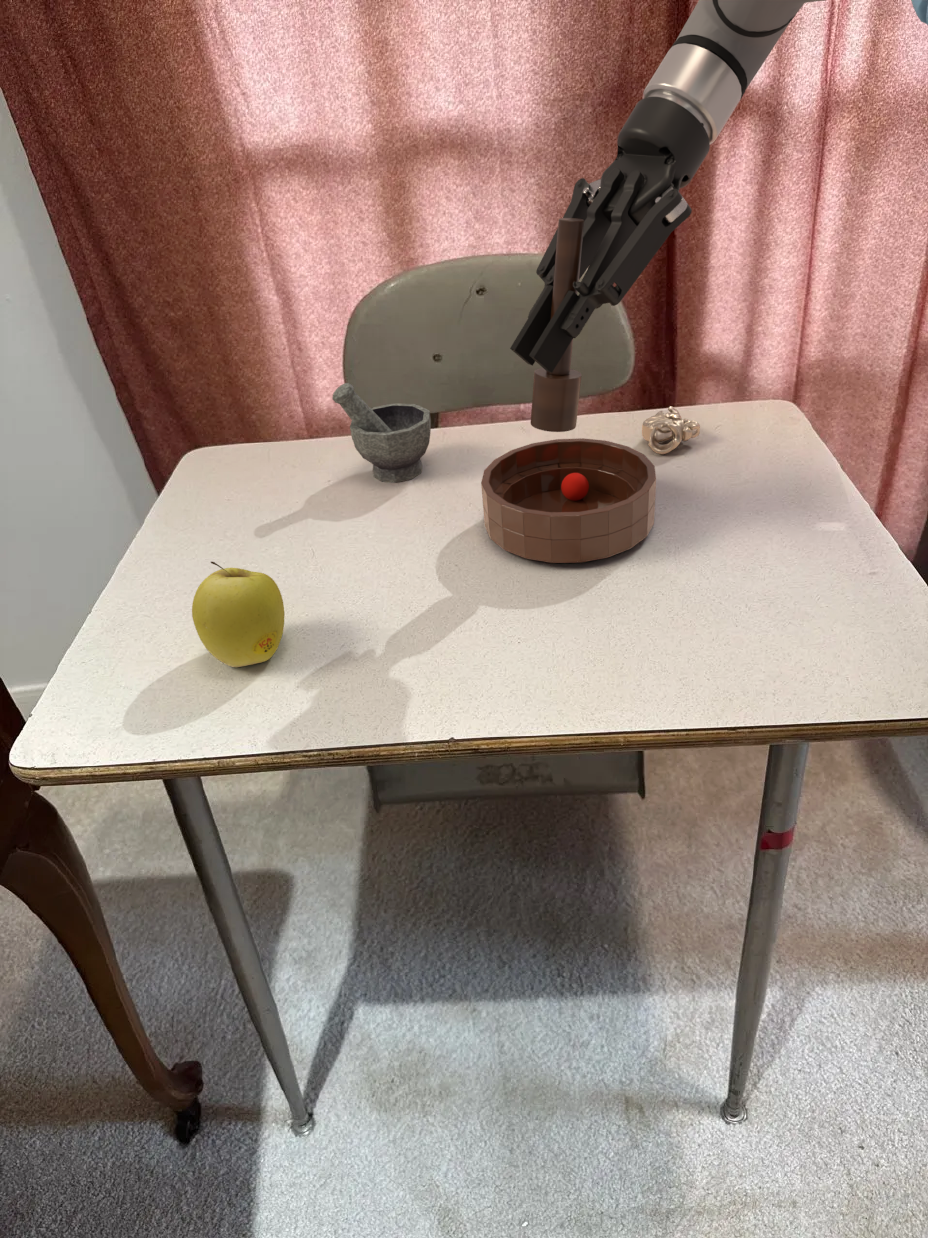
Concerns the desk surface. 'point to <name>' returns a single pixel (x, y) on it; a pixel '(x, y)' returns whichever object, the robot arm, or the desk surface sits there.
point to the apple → (239, 616)
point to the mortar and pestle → (387, 434)
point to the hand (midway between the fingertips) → (531, 360)
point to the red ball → (575, 486)
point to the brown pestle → (562, 386)
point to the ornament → (668, 430)
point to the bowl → (561, 528)
